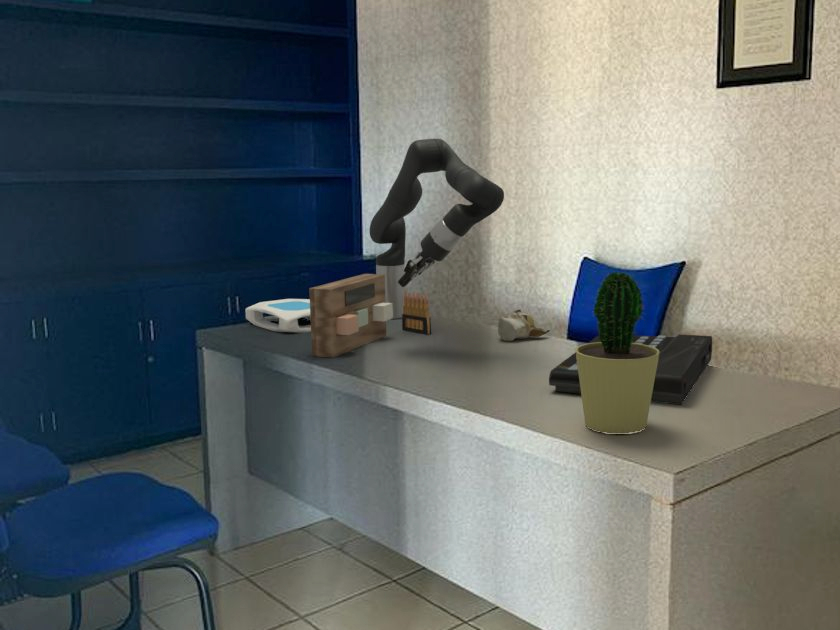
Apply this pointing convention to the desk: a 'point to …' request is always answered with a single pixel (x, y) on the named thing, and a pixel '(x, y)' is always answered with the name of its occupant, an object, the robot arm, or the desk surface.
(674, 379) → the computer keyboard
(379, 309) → the cream key
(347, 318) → the terracotta key
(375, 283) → the keypad console
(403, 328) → the ammunition clip
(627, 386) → the potted cactus
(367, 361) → the desk surface
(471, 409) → the desk surface
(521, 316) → the ceramic sculpture
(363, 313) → the sage key
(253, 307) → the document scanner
